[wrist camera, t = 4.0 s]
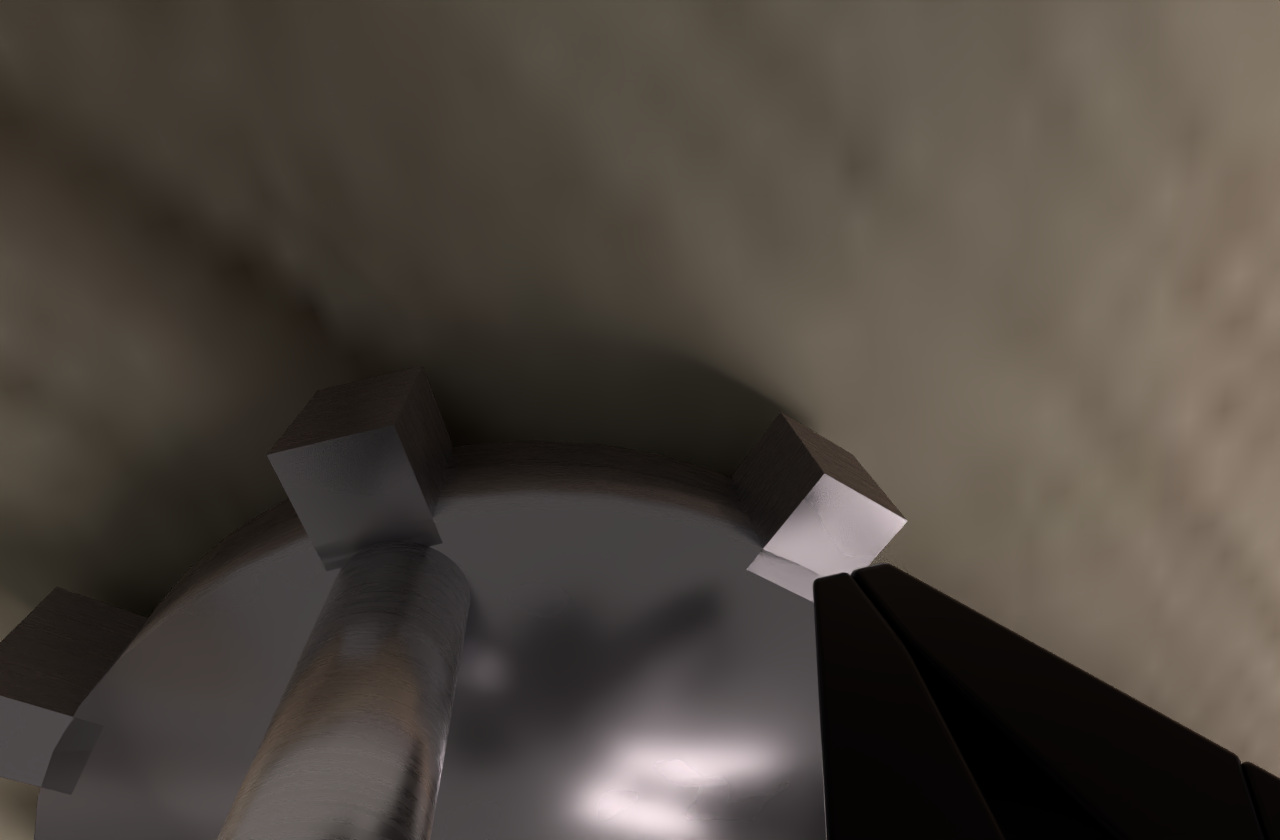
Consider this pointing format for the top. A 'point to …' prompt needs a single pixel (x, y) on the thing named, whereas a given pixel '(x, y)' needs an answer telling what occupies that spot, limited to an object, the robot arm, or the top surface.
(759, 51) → the top surface
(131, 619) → the sprocket
